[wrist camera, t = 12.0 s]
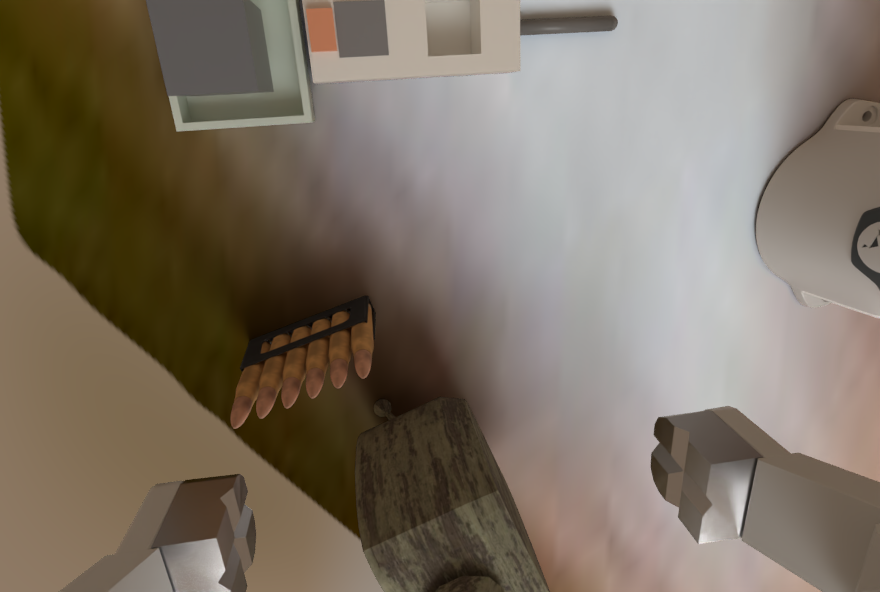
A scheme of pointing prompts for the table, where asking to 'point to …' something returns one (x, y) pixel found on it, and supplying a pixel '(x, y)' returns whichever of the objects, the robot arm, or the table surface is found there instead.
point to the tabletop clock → (439, 506)
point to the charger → (211, 47)
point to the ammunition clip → (305, 357)
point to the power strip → (423, 37)
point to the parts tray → (269, 107)
